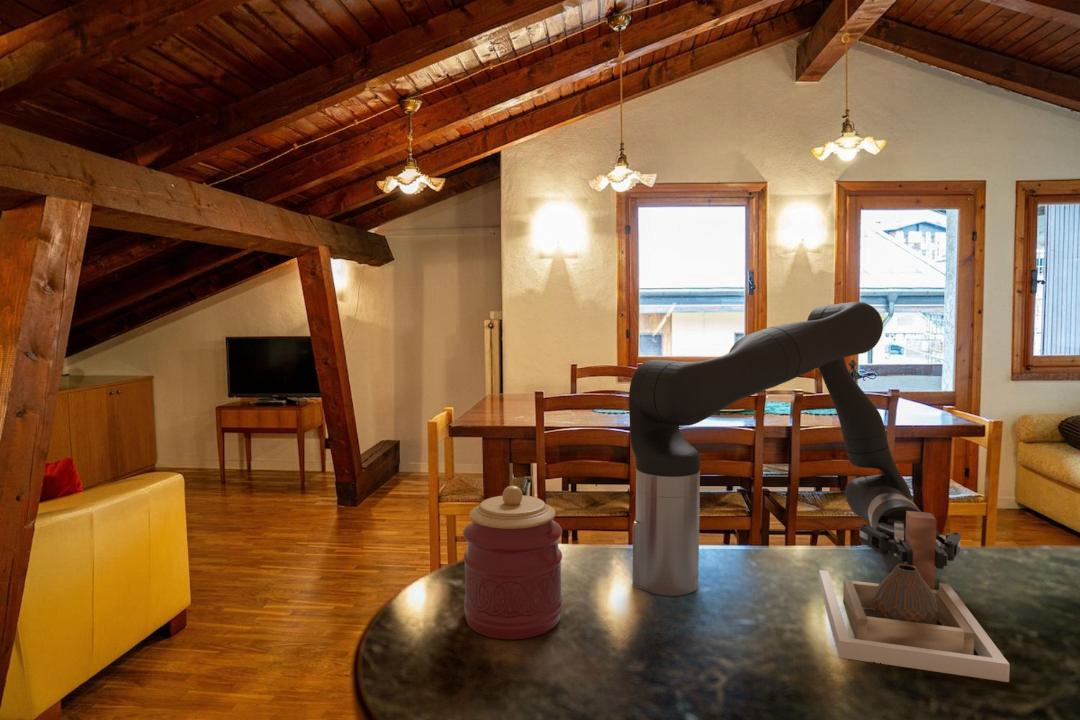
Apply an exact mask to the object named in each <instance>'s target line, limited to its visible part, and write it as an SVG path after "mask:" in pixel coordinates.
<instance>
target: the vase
mask: <svg viewBox="0 0 1080 720" xmlns="http://www.w3.org/2000/svg"><path fill="white" fill-rule="evenodd" d="M878 584H879V586H878V588H877V590H876V593H875V597H874V609H873V610H874V612H873V613H874V617H877V618H885V619H893V620H900V621H908V622H916V623H924V624H932V625H938V623H939V622H938V621H939V620H938V606H937V602H936V599H935V596H934V594H933V592H932V590H931V589H930V587H929V586H928V585H927V584H926V582H925V581H924V580H923V578H922V577H921V575H920V573H919V570H918V569H917V568H916V567H915V566H912V565H908V564H905V563H898V564H896V565H895V566H894V568H893V569H892V571H891V572H890V573H889V574H888V575H887V576H886V577H885V578H883V579H882V581H880V582H879V583H878Z"/></svg>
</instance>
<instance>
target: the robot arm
mask: <svg viewBox="0 0 1080 720" xmlns="http://www.w3.org/2000/svg"><path fill="white" fill-rule="evenodd" d="M883 330H884V323H883V318H882V316H881V315H880V312H879V311H878V310H877V309H876V308H875V307H874V306H872V305H870V304H869V303H866V302H862V301H850V302H841V303H836V304H829V305H828V304H827V305H823V306H818V307H816V308H814V309H813V310H812V311H811V312H810V313H809V315H808V317H807V320H804V321H797V322H796V321H795V322H789V323H783V324H779V325H774V326H770V327H766V328H764V329H760V330H758V331H754V332H751V333H748V334H747V335H744V336H743V337H741V338H739V339H738V340H737V341H736V342H735V343H734V344H733V345H732V347H731V348H730V349H729V352H728V353H726V354H724V355H722V356H718V357H714V358H711V359H706V360H698V361H679V360H678V361H677V360H667V359H649V360H646V361H644V362H642V363H641V364H640V365H639V366H638V367H637V368H636V369H635V370H634V373H633V375H632V376H631V380H630V384H629V390H628V391H629V392H628V412H629V413H628V415H629V435H630V439H629V440H630V446H631V449H632V453H633V455H634V457H635V519H634V521H633V523H632V583H631V585H632V587H633V588H638V589H642V590H643V591H645V592H649V593H651V594H654V595H660V596H672V597H675V596H684V595H688V594H692V593H694V592H696V590H697V589H698V588H699V576H700V570H699V567H700V565H699V563H700V562H699V560H700V552H699V551H700V498H701V497H700V491H701V487H700V486H701V485H700V483H701V481H700V480H701V478H700V477H701V471H700V470H701V467H700V466H701V458H700V457H701V456H700V453H699V451H698V450H697V449H696V447H694V446H693V445H691V444H690V443H689V441H687V440H686V439H685V438H684V436H683V434H682V433H681V431H680V427H688V426H693V425H696V424H697V423H700V422H703V421H704V420H706V419H708V418H710V417H711V416H713V415H715V414H716V413H718V412H719V411H721V410H724V409H726V408H727V407H729V406H730V405H732V404H734V403H735V402H738V401H740V400H742V399H745V398H748V397H751V396H753V395H756V394H758V393H761V392H764V391H766V390H769V389H771V388H775V387H777V386H780V385H783V384H785V383H787V382H790V381H792V380H794V379H795V378H799V377H800V376H803V375H805V374H807V373H809V372H812V371H814V370H816V369H818V370H819V373H820V375H821V378H822V380H823V383H824V384H825V387H826V389H827V391H828V393H829V396H830V399H831V401H832V403H833V406H834V408H835V412H836V414H837V418H838V421H839V425H840V430H841V433H842V437H843V442H844V447H845V452H846V455H847V459H848V461H849V462H850V464H851V465H852V466H853V467H857V468H864V469H865V468H866V469H875V470H879V471H881V472H882V473H879V474H873V475H868V476H867V475H866V476H862V477H861V476H859V477H856V478H855V477H854V478H853V479H851V480H850V481H849V482H847V484H846V486H845V489H844V491H845V492H844V494H845V501H847V504H848V506H849V508H850V510H852V512H853V513H854V514H855V515H856V516H857V517H859V518H860V519H863V520H865V521H867V522H869V525H868V524H866V523H861V524H859V542H861V543H862V544H864V545H865V546H868V547H869V548H871V549H872V550H874V551H876V552H877V553H879V554H881V555H889V553H893V555H894V556H895V557H897V559H898V560H899V561H900V562H901V563H902V562H903V564H908V565H913V550H912V549H911V547H910V546H909V545H908V543H907V542H905V534H906V511H914V512H922V511H921V510H920V508H919V507H918V506H917V505H916V504H915V503H914V502H913V501H912V493H911V490H910V487H909V486H908V484H907V482H906V480H905V478H904V477H903V475H902V474H901V471H900V470H899V469H898V467H897V465H896V463H895V461H894V458H893V456H892V453H891V449H890V446H889V441H888V437H887V433H886V428H885V424H884V420H883V418H882V416H881V414H880V412H879V410H878V408H877V407H876V405H875V404H874V403H873V401H872V400H871V399H870V398H869V396H868V395H867V394H866V393H865V392H864V391H863V389H862V388H861V387H860V386H859V384H858V383H857V382H856V381H855V379H854V378H853V376H852V375H851V373H850V371H849V368H848V367H847V364H846V361H845V358H848V357H851V356H856V355H860V354H866V353H868V352H869V351H871V350H873V348H875V347H876V346H877V344H878V343H879V341H880V339H882V334H883ZM960 552H961V533H959V532H956V531H953V532H949V533H945V535H943V534H941V533H940V531H938V530H937V529H936V550H935V569H937V570H944V567H947V566H948V562H951V561H952V562H954V561H955V560H956V557H957V556H958V555H959V554H960Z"/></svg>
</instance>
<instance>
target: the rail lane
mask: <svg viewBox="0 0 1080 720" xmlns="http://www.w3.org/2000/svg"><path fill="white" fill-rule="evenodd" d="M818 571H819V573H818V584H819V588H820V592H821V595H822V599H823V602H824V606H825V611H826V614H827V618H828V622H829V625H830V630H831V633H832V635H833V636H832V637H833V640H834V644H835V648H836V651H837V656H838V658H841V659H848V660H854V661H855V660H856V661H860V662H861V661H862V662H868V663H873V662H875V663H874V664H880V663H881V664H882V665H887V666H889V665H890V666H895V667H901V668H902V667H903V668H909V669H916V670H923V671H928V672H935V673H937V672H938V673H943V674H949V675H950V674H951V675H957V676H962V677H969V678H970V677H971V678H977V679H982V680H983V679H985V680H992V681H999V682H1003V683H1004V682H1005V683H1010V666H1011V664H1010V663H1009V661H1008V660H1007V659H1006V658H1005V657H1004V655H1003V654H1002V652H1001V651H1000V649H999V648H998V647H997V646H996V644H995V643H994V642H993V640H992V639H991V638H990V636H989V635H988V634H987V632H986V631H985V629H984V628H983V627H982V625H981V624H980V623H979V622H978V620H977V619H976V618H975V616H974V615H973V614H972V613H971V611H970V610H969V609H968V606H966V605H965V603H964V602H963V601H962V599H961V598H960V597H959V596H958V594H957V592H955V590H954V589H953V587H952V586H951V585H950V583H942V582H939V585H938V587H939V588H938V590H940V591H944V592H945V593H946V595H947V596H948V597H949V599H950V600H951V602H952V603H953V604H954V606H955V607H956V609H957V610H958V611H959V613H960V614H961V616H962V617H963V618H964V620H965V621H966V622H967V624H968V625H969V627H970V628H971V629H972V631H973V632H974V650H975V652H976V654H977V655H975V654H974V655H968V654H961V653H954V652H946V651H939V650H932V649H924V648H917V647H910V646H903V645H895V644H888V643H881V642H873V641H866V640H859V639H855V638H850V635H849V632H848V629H847V627H846V622H845V620H844V617H843V614H842V611H841V608H840V604H839V601H838V598H837V594H836V592H835V588H834V585H833V582H832V579H831V575H830V572H829V570H821V569H820V570H818Z"/></svg>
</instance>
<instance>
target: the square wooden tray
mask: <svg viewBox="0 0 1080 720" xmlns="http://www.w3.org/2000/svg"><path fill="white" fill-rule="evenodd" d="M936 530H937V518H936V517H935V516H934V515H933V513H932V512H922V511H921V512H914V511H906V534H905V542H907V543H908V545H909V546H910V547H911V549H912V550H913V565H912V566H915V567H916V568H917V569H918V570H919V573H920V575H921V577H922V578H923V580H924V581H925V582H926V584H927V585H928V586H929V587H930V589H931V590H932V592H933V594H934V596H935V599H936V602H937V606H938V621H939V622H938V623H940V625H939V624H937V625H932V624H924V623H916V622H908V621H900V620H893V619H885V618H877V617H876V616H868V615H866V613H865V610H864V609H869V610H874V597H875V593H876V590H877V588H878V586H879V584H880V583H876V582H875V583H874V582H867V581H865V582H864V581H858V580H849V579H843V591H842V592H843V597H842V599H843V600H842V603H843V606H844V609H845V612H846V616H847V618H848V621H849V624H850V627H851V630H852V633H853V635H854V639H859V640H866V641H873V642H881V643H888V644H895V645H903V646H910V647H917V648H924V649H932V650H939V651H946V652H954V653H961V654H968V655H975V654H974V653H975V652H974V650H975V649H974V632H973V631H972V629H971V628H970V627H969V625H968V624H967V622H966V621H965V620H964V618H963V617H962V616H961V614H960V613H959V611H958V610H957V609H956V607H955V606H954V604H953V603H952V602H951V600H950V599H949V597H948V596H947V595H946V593H945V592H944V591H940V590H939V589H935V573H936V571H935V570H936V567H935V550H936Z"/></svg>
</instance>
